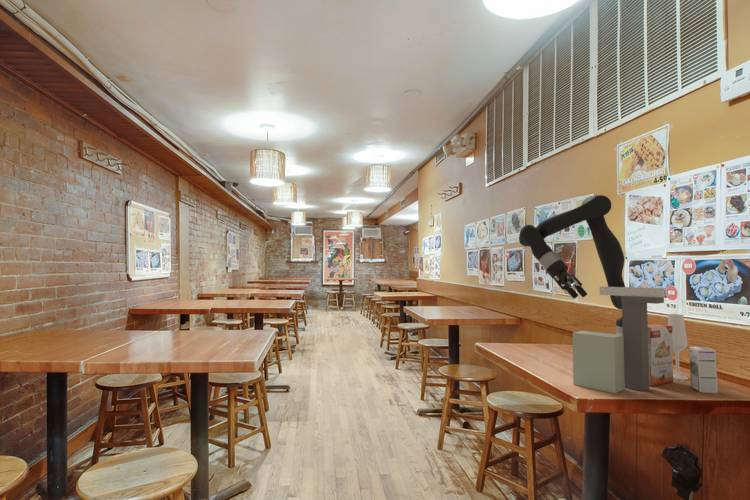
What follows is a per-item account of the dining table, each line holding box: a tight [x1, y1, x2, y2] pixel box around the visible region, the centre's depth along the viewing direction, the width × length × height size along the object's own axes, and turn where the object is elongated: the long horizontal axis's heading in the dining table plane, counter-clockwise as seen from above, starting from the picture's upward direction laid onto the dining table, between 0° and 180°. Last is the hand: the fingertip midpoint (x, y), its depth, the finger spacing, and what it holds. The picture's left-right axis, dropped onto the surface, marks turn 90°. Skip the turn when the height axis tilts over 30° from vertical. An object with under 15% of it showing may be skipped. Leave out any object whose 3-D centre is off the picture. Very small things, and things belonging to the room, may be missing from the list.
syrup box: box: [688, 346, 719, 394], centre depth 145 cm, size 6×6×14 cm
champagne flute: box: [667, 313, 689, 381], centre depth 163 cm, size 7×7×24 cm
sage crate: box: [572, 330, 626, 394], centre depth 149 cm, size 14×8×18 cm, turn 40°
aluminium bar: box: [599, 286, 666, 298], centre depth 150 cm, size 20×3×3 cm, turn 40°
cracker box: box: [648, 323, 674, 387], centre depth 155 cm, size 14×6×21 cm, turn 117°
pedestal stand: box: [621, 296, 665, 392], centre depth 146 cm, size 11×7×32 cm, turn 40°
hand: (580, 296), depth 164 cm, fingers open, 8 cm apart
